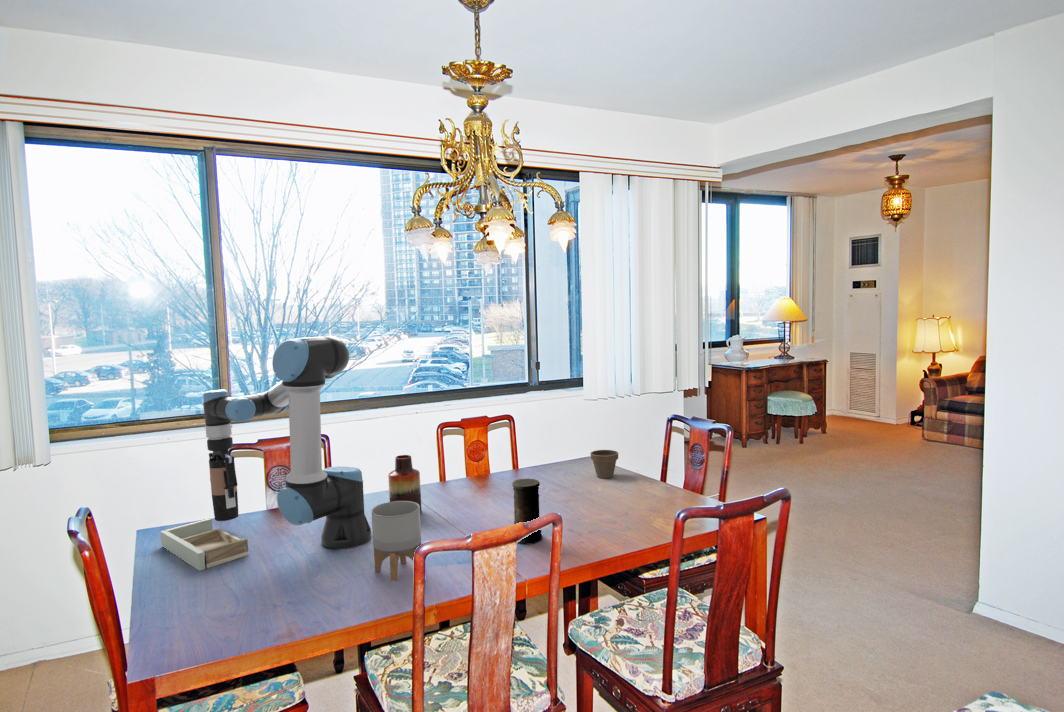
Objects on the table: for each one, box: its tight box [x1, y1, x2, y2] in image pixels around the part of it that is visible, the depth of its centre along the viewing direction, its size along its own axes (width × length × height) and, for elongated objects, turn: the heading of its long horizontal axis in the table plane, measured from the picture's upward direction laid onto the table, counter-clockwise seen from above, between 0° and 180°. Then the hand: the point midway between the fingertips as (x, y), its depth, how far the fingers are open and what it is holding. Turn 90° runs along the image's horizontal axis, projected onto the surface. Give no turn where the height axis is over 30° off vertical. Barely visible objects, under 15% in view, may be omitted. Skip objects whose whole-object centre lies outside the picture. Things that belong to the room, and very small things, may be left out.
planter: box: [371, 501, 422, 582], centre depth 178 cm, size 13×13×18 cm
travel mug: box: [208, 458, 239, 522], centre depth 213 cm, size 8×8×20 cm
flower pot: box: [590, 449, 619, 479], centre depth 265 cm, size 12×11×10 cm
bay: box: [159, 517, 214, 572], centre depth 198 cm, size 29×15×5 cm, turn 49°
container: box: [511, 478, 543, 545], centre depth 199 cm, size 9×9×18 cm
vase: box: [387, 454, 422, 515], centre depth 226 cm, size 11×11×20 cm
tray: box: [182, 528, 249, 569], centre depth 195 cm, size 20×12×5 cm, turn 49°
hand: (225, 505), depth 214 cm, fingers closed on travel mug, 8 cm apart
